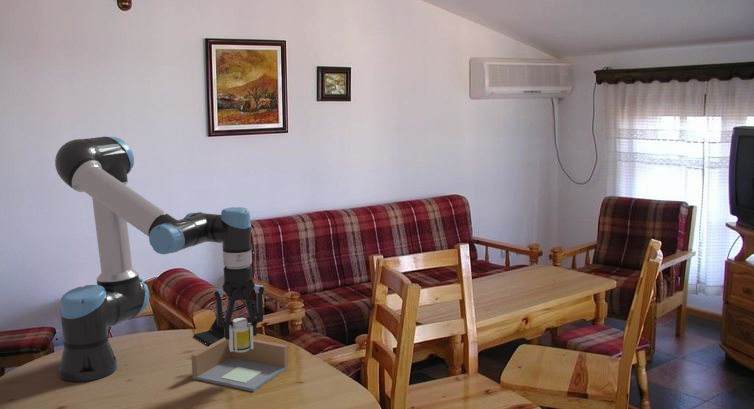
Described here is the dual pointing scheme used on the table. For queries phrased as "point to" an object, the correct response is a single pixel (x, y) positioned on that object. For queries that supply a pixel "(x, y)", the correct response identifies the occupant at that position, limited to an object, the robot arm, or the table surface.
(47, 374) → the table surface
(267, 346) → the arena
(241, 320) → the supplement bottle
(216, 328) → the handheld gaming console
